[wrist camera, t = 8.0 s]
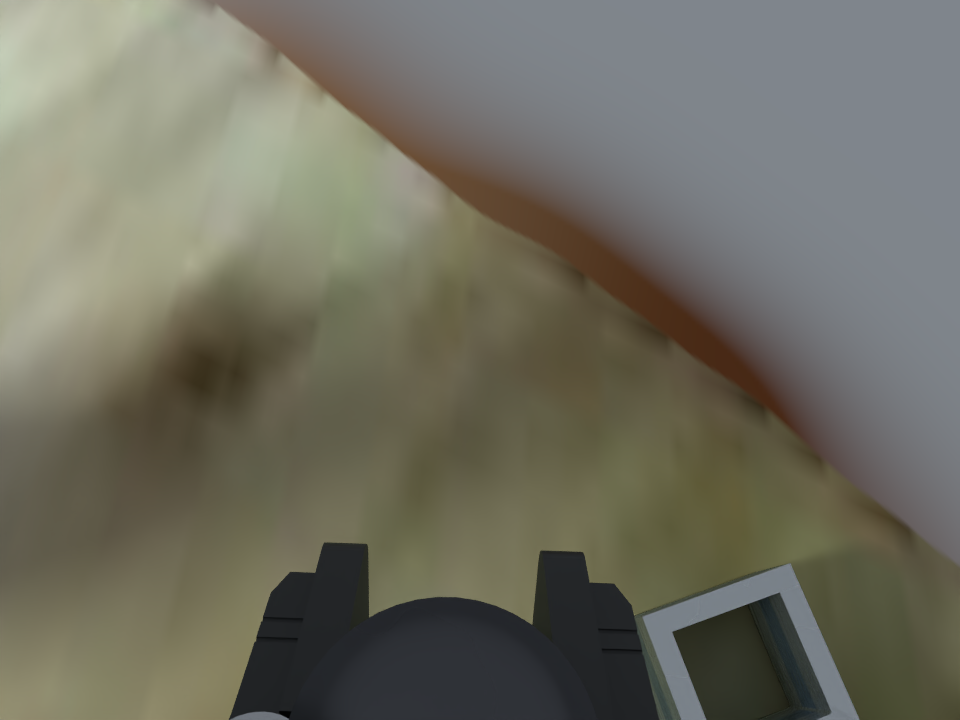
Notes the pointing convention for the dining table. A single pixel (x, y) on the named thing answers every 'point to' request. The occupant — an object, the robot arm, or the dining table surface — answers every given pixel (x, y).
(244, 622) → the dining table surface
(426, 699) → the pin
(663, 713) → the grey square forked frame
